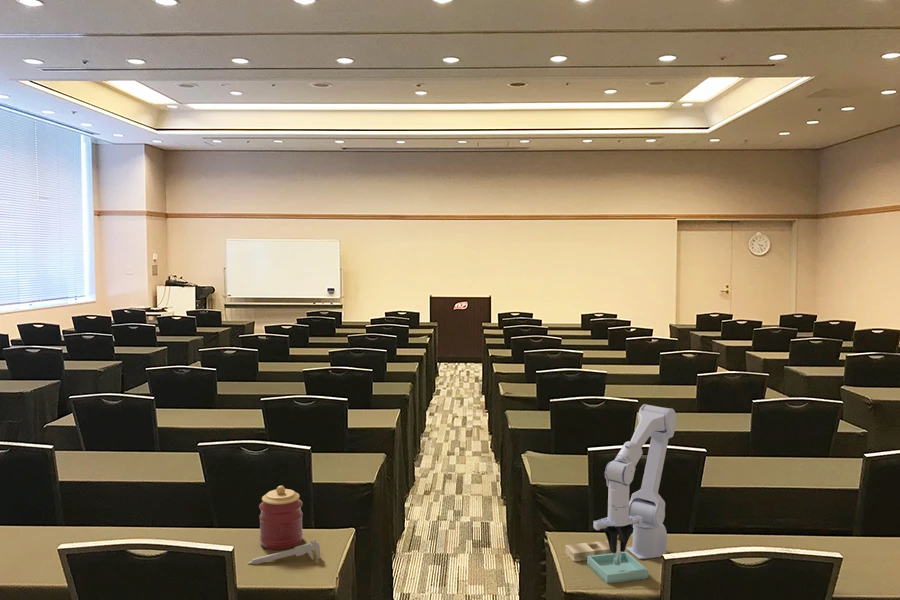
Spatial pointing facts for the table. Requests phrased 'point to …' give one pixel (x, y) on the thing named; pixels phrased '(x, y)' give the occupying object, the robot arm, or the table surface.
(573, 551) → the beige slotted block
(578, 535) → the table surface
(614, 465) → the robot arm
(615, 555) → the pin
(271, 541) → the canister
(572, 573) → the table surface
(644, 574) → the tray
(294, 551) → the caliper
